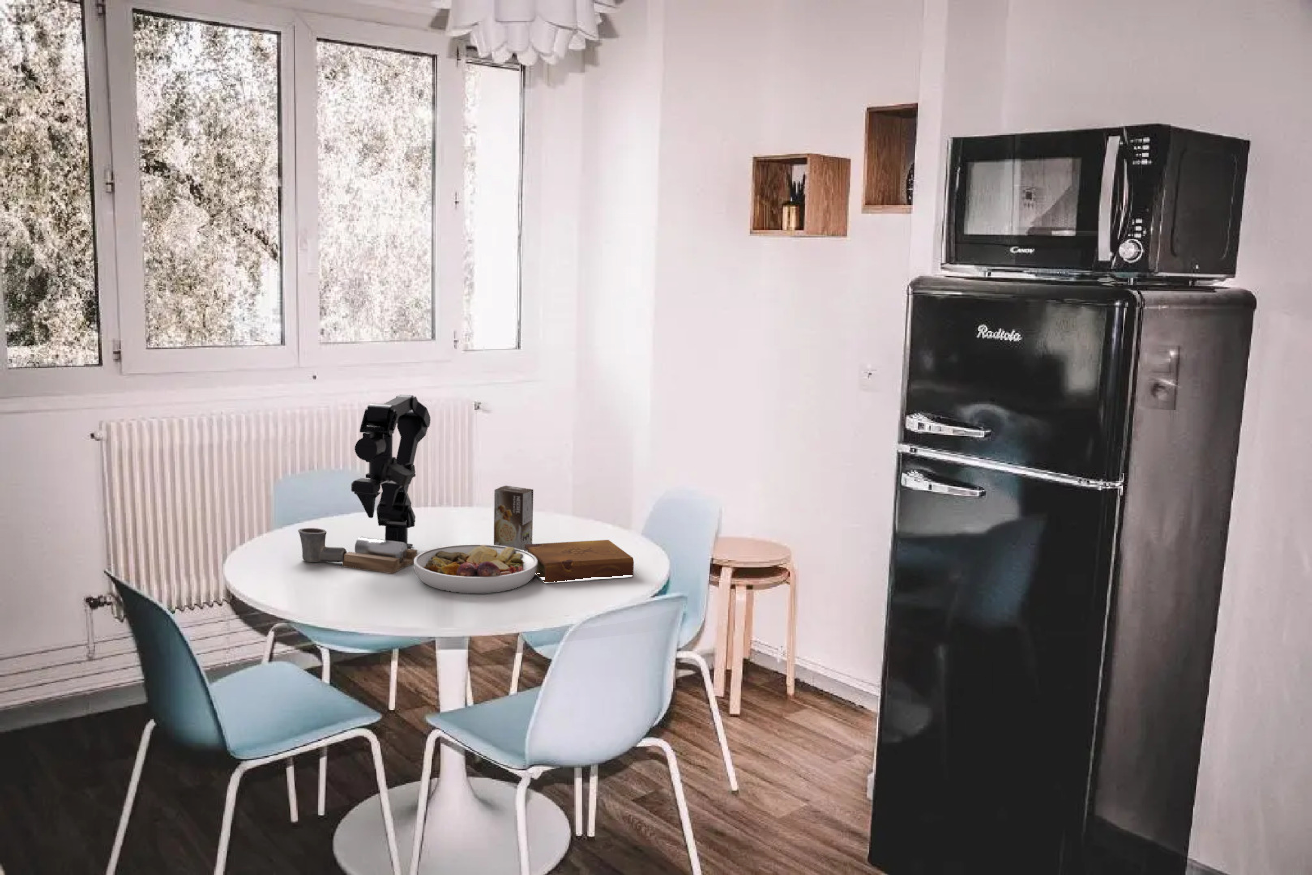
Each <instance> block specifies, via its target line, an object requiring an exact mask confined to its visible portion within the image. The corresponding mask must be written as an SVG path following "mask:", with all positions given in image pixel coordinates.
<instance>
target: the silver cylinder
mask: <svg viewBox="0 0 1312 875" xmlns="http://www.w3.org/2000/svg"><path fill="white" fill-rule="evenodd" d="M407 549H408V548H407V545H406V543H404V542H397V541H389V540H385V539H380V538H372V537H366V536H360V537H358V538H357V540H356V542H355V544H354V552H355V553H362V554H369V555H377V556H384V557H391V558H399V562H403V561H404V560H405V558H406V555H407Z"/></svg>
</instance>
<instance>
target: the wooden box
mask: <svg viewBox="0 0 1312 875" xmlns="http://www.w3.org/2000/svg"><path fill="white" fill-rule="evenodd" d="M525 549H526V550H525V551H526V552H528V553H530V554H532V555H534V556H535V557H536V558H537V560H538V567H537V571H536V574H537V573H540V574H537V575H538V576H539V577H545V580H543V581H544V582H554V581H555V582H557V581H565V580H566V581H567V580H575V579H583V578H591V577H612V576H623V575H633V576H634V569H635V568H634V566H635V564H634V563H635V561H634V558H633V556H632V555H630V554H628V553H627V552H626V551H624V550H623V549H622V548H620V547H619V546H618V545H616V544H615V543H613V542H612V541H610V540H609V539H600V540H580V541H565V542H564V541H562V542H546V543H544V542H542V543H532V544H525ZM544 582H543V583H544Z"/></svg>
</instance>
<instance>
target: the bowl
mask: <svg viewBox="0 0 1312 875" xmlns="http://www.w3.org/2000/svg"><path fill="white" fill-rule="evenodd" d="M537 567H538V560H537V558H536V557H535V556H534V555H532V554H530V553H528V551H527V550H524V551H523V550H520V549H516V548H513V547H512V548H511V547H506V546H498V545H494V544H480V543H472V544H471V543H470V544H468V543H467V544H466V543H465V544H464V543H463V544H453V545H445V546H440V547H435V548H430V549H428V550H425V551H422V552H421V553H419V554H418V553H417V556H416V557H415V559H414V563H413V568H414V569H413V570H414V572H415V575H416V576H417V578H418V579H419V580H421V581H422V582H423V583H424V584H426V585H427V586H429V587H431V588H434V589H437V590H441V591H444V590H446V591H445V592H449V591H451V593H456V592H459V594H470V593H482V594H491V593H490V592H496V593H500V592H499V591H503V592H506V591H505V590H508V591H511V589H512V590H514V588H515V589H518V588H520V587H522V586H524V585H526V584H527V583H529V582H530V581H531V580H532V579H533V578H534V577H535V576H536V575H535V573H536V571H537ZM517 587H518V588H517Z"/></svg>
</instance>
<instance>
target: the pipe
mask: <svg viewBox="0 0 1312 875" xmlns="http://www.w3.org/2000/svg"><path fill="white" fill-rule="evenodd" d="M297 532H298V534H299V537H300V543H301V550H302V555H301V556H302V559H303V561H304V562H307V563H319V562H320V563H322V562H324V563H343V561H344V554H346V553H348V552H347V549H346V548H345V547H338V546H337V547H331V546H326V538H327V530H325V529H322V528H318V527H317V528H315V527H308V528H300V529H298V531H297Z"/></svg>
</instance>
